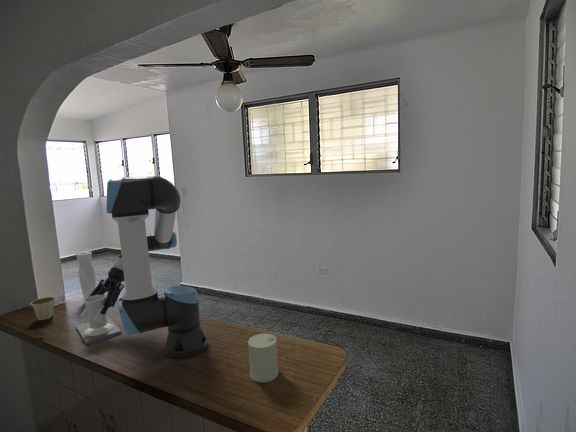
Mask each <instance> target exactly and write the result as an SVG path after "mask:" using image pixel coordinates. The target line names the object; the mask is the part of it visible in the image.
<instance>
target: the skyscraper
mask: <svg viewBox="0 0 576 432" xmlns="http://www.w3.org/2000/svg"><path fill="white" fill-rule="evenodd" d="M87 249H91V251H88V250H87ZM75 255H76V256H75V257H76V259H77V262H78V279H79V284H80V288H81V292H82V295H83V301H84V300H85V299H86V298H88V297H89V296H90V294H91V293H92V292H93V291H94V289H95V288H96V287H97V286H96V283H97V281H96V273H95V269H94V266H93V264H92V256H93V247H85V248H83V250H82V251H80V252H78V253H76V254H75Z"/></svg>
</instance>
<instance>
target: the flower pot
mask: <svg viewBox="0 0 576 432" xmlns="http://www.w3.org/2000/svg"><path fill="white" fill-rule="evenodd" d="M55 300H56V297H54V296H47V297H41V298H38V299H34V300H33V301H31V302H30V305H31V307H32V309H34V313H35V316H36V320H37V319H38V320H37V321H39V320H41V321H46V320H45V319H47V320H49V319H48V318H50V319H51V317H52V316H53V317H54V309H55V308H54V307H55V306H54V304H55ZM53 317H52V318H53Z"/></svg>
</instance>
